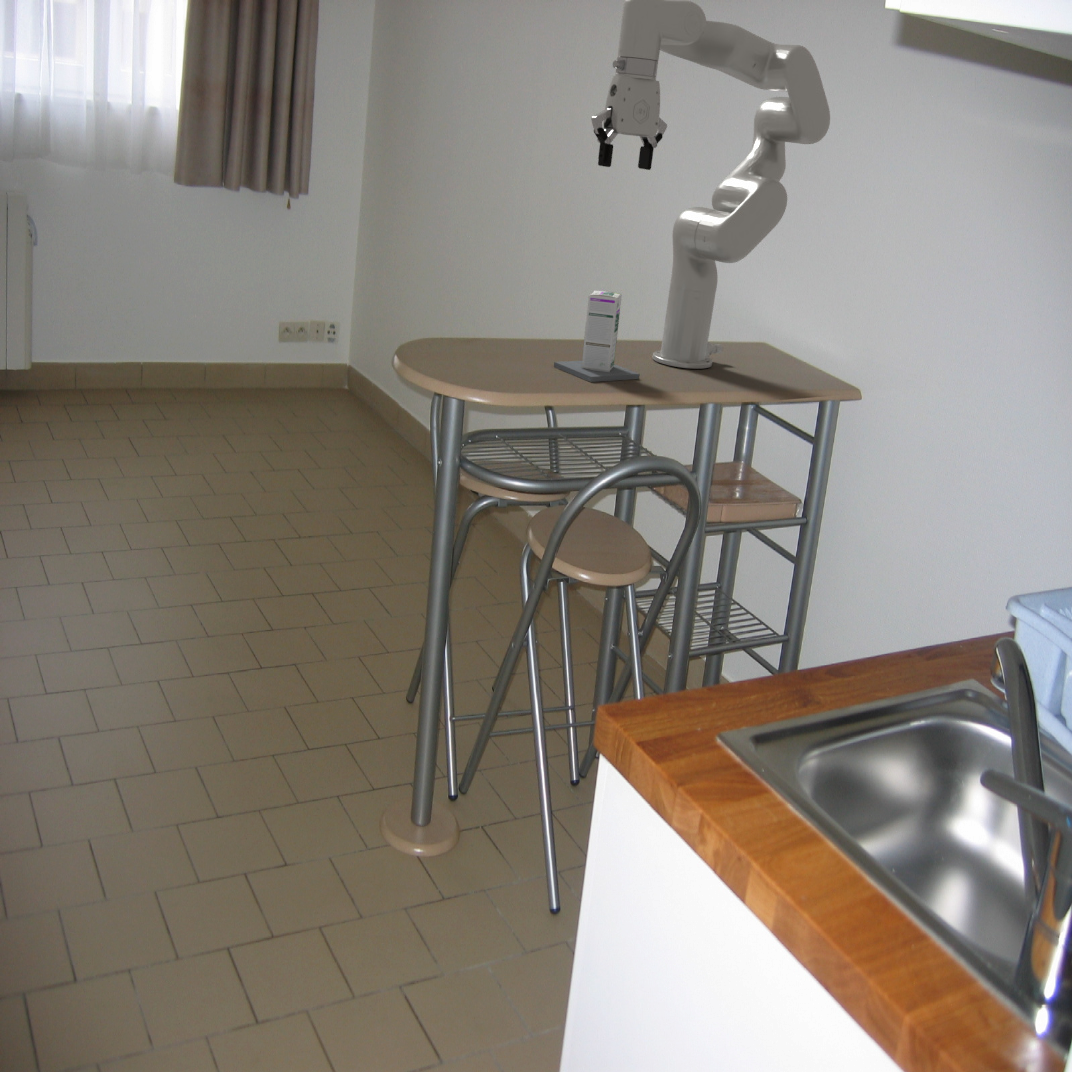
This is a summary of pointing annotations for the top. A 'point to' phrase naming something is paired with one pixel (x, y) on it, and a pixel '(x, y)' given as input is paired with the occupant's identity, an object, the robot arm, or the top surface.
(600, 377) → the grey square plate
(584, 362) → the syrup box
